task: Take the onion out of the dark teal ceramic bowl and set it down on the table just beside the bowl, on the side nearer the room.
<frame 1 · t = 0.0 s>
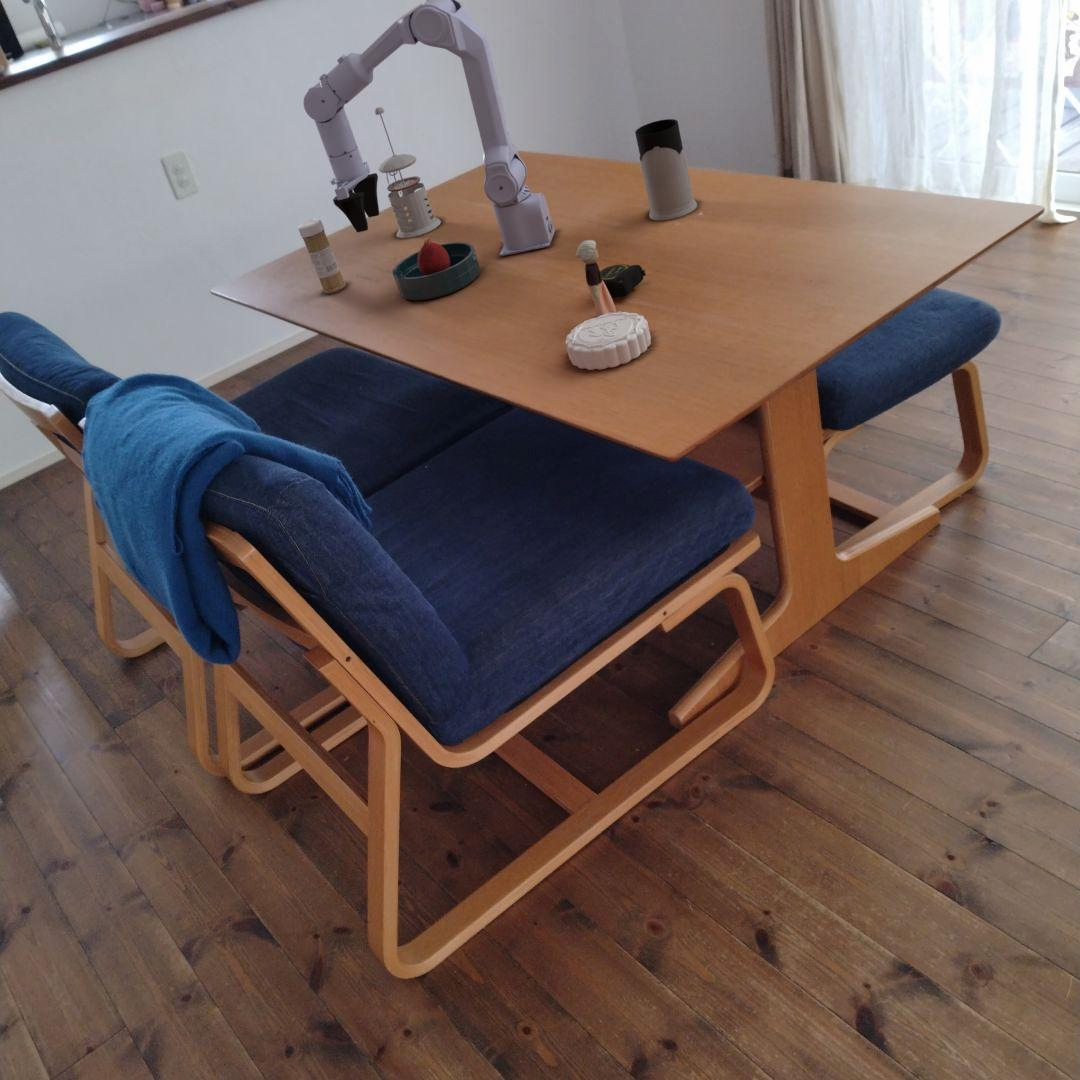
hand: (368, 223, 207), 10 cm above the table, tool pointing down, fingers open, 7 cm apart
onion: (440, 281, 200), resting on bowl
mooncake: (610, 351, 158), on the table
glass holder: (675, 205, 201), on the table
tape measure: (624, 293, 174), on the table
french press: (417, 228, 232), on the table
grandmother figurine: (605, 320, 168), on the table
bowl: (440, 283, 200), on the table
sprinkles bottle: (335, 290, 213), on the table
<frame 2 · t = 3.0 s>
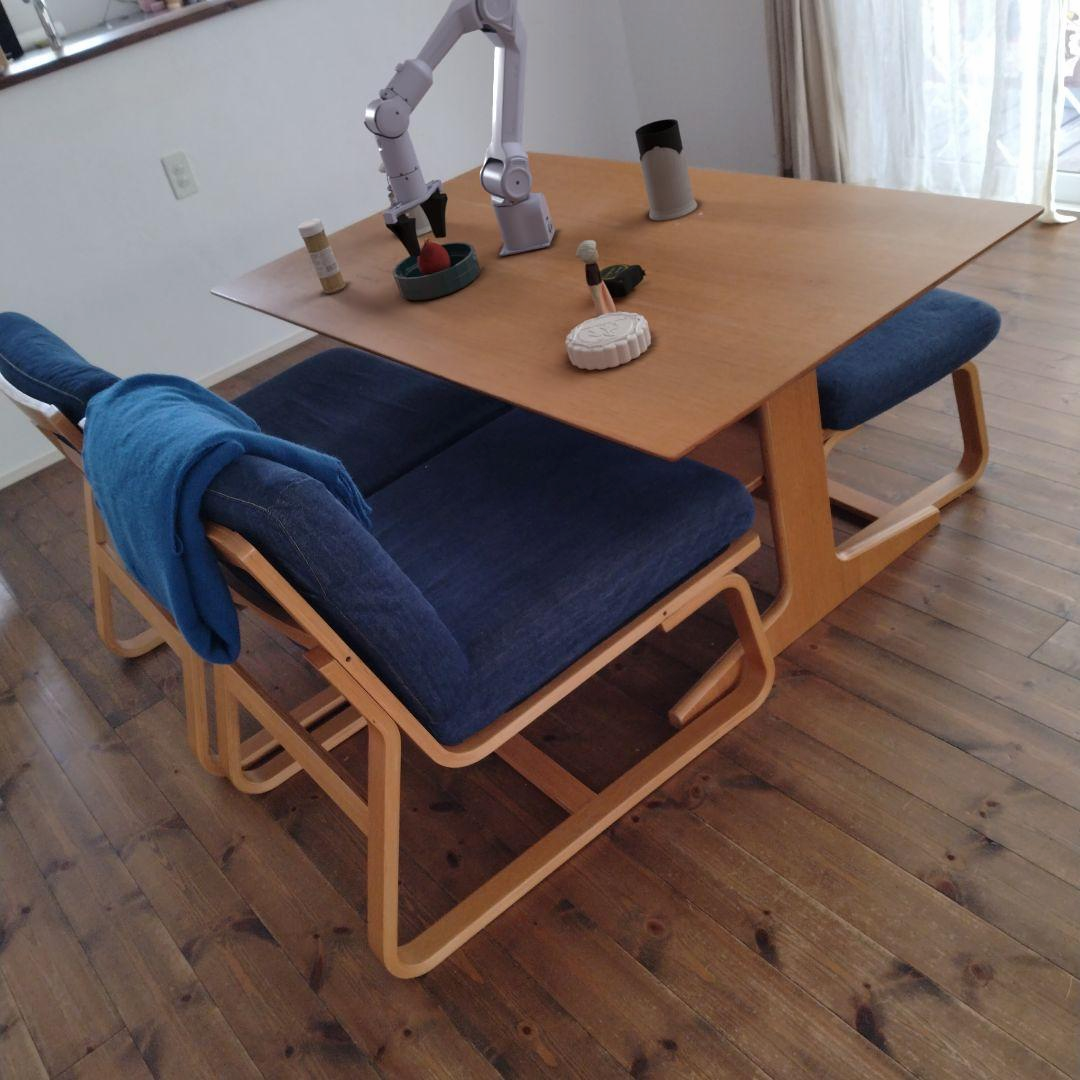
hand: (428, 246, 196), 7 cm above the table, tool pointing down, fingers open, 7 cm apart
nothing on the table moved.
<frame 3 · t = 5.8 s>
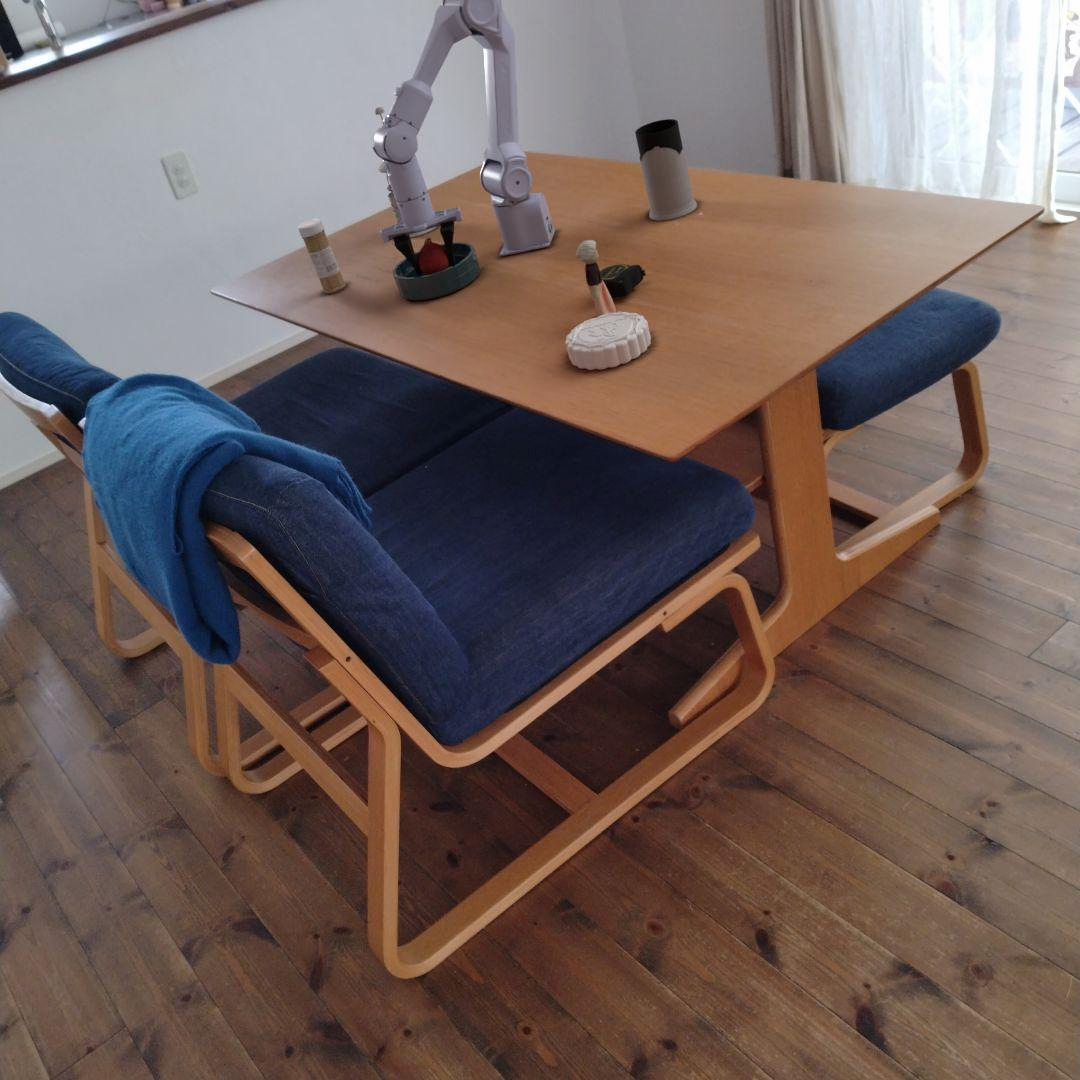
hand: (436, 268, 198), 3 cm above the table, tool pointing down, fingers closed on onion, 6 cm apart
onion: (440, 281, 200), resting on bowl, touching gripper
everything else where it was.
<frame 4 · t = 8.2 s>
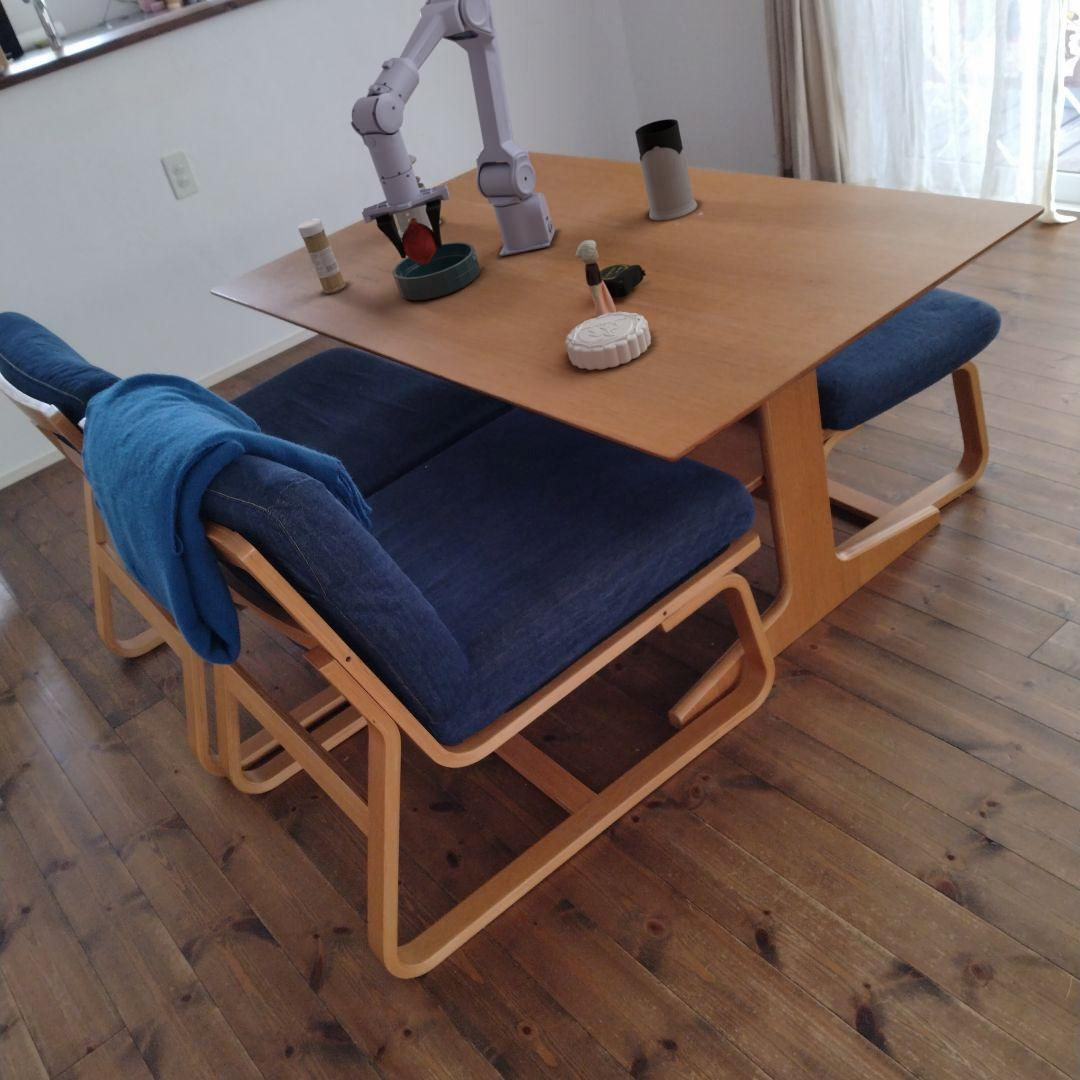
hand: (421, 251, 186), 10 cm above the table, tool pointing down, fingers closed on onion, 6 cm apart
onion: (426, 265, 187), point 7 cm above the table, touching gripper
everything else where it was.
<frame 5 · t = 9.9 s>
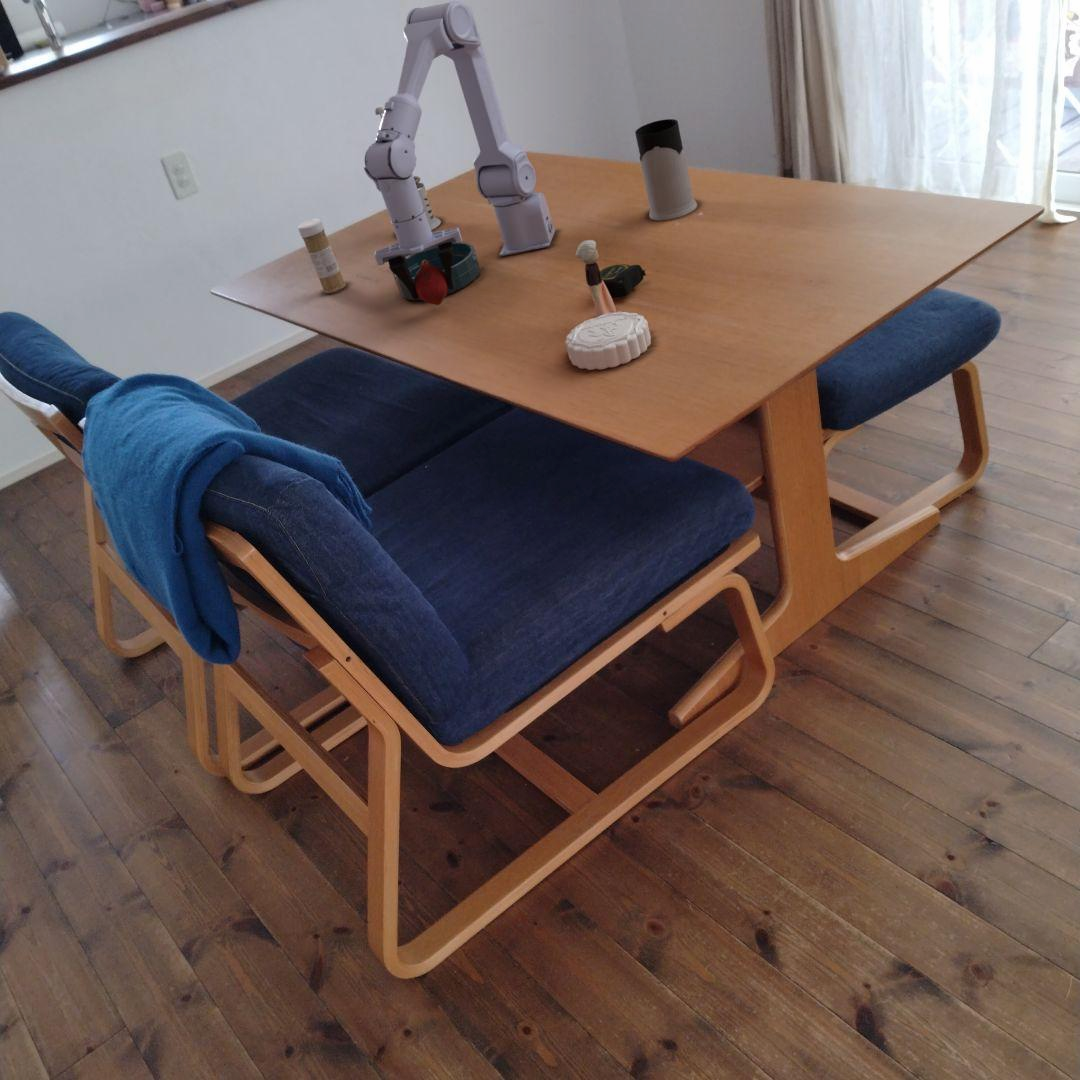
hand: (433, 292, 187), 3 cm above the table, tool pointing down, fingers closed on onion, 6 cm apart
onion: (438, 305, 188), point 1 cm above the table, touching gripper
everything else where it was.
when the fingers open (2 cm above the table, at t = 10.8 s): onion stays where it is, on the table.
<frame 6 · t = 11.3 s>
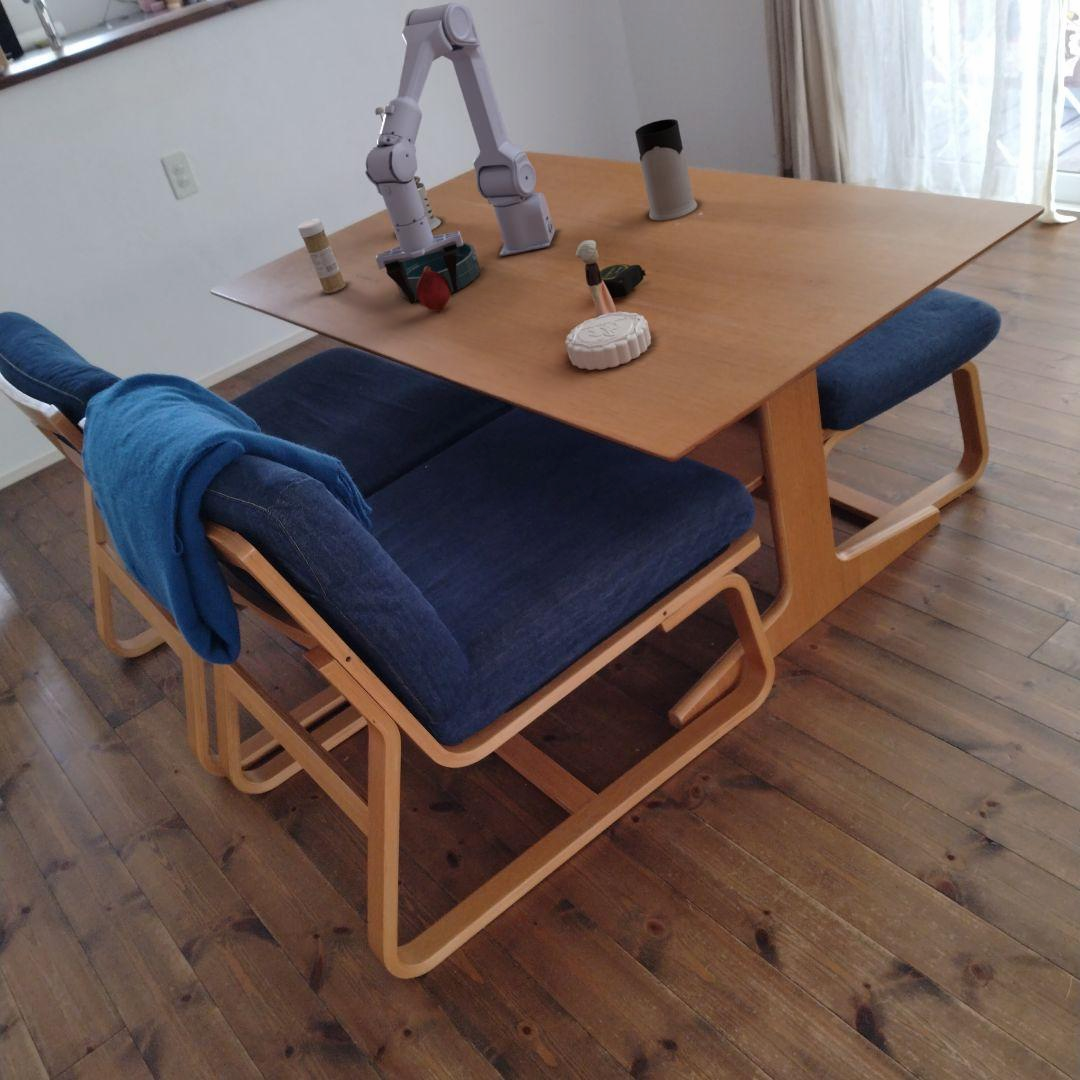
hand: (434, 295, 187), 3 cm above the table, tool pointing down, fingers open, 7 cm apart
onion: (440, 311, 189), on the table
everything else where it was.
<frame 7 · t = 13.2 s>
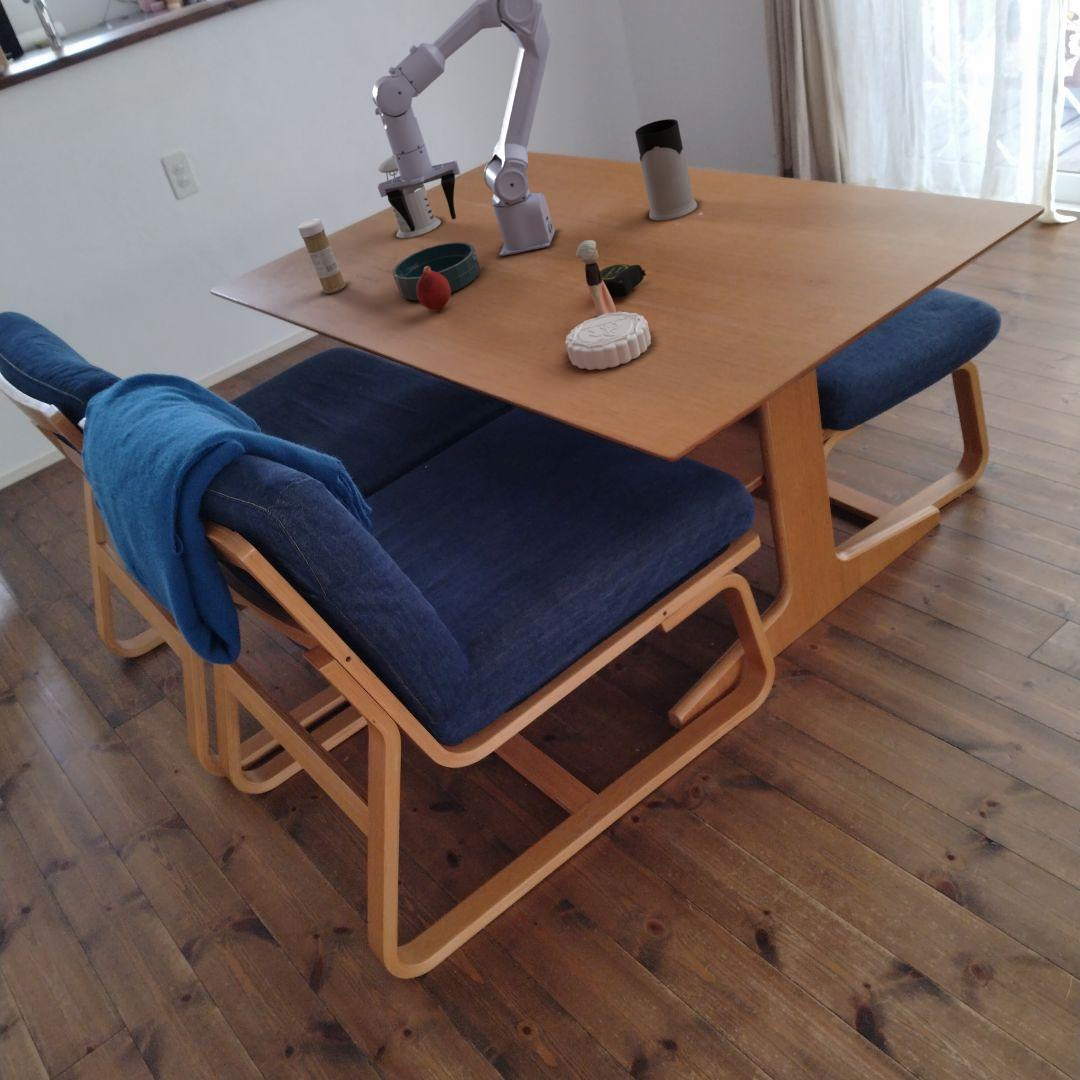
hand: (433, 223, 198), 9 cm above the table, tool pointing down, fingers open, 7 cm apart
nothing on the table moved.
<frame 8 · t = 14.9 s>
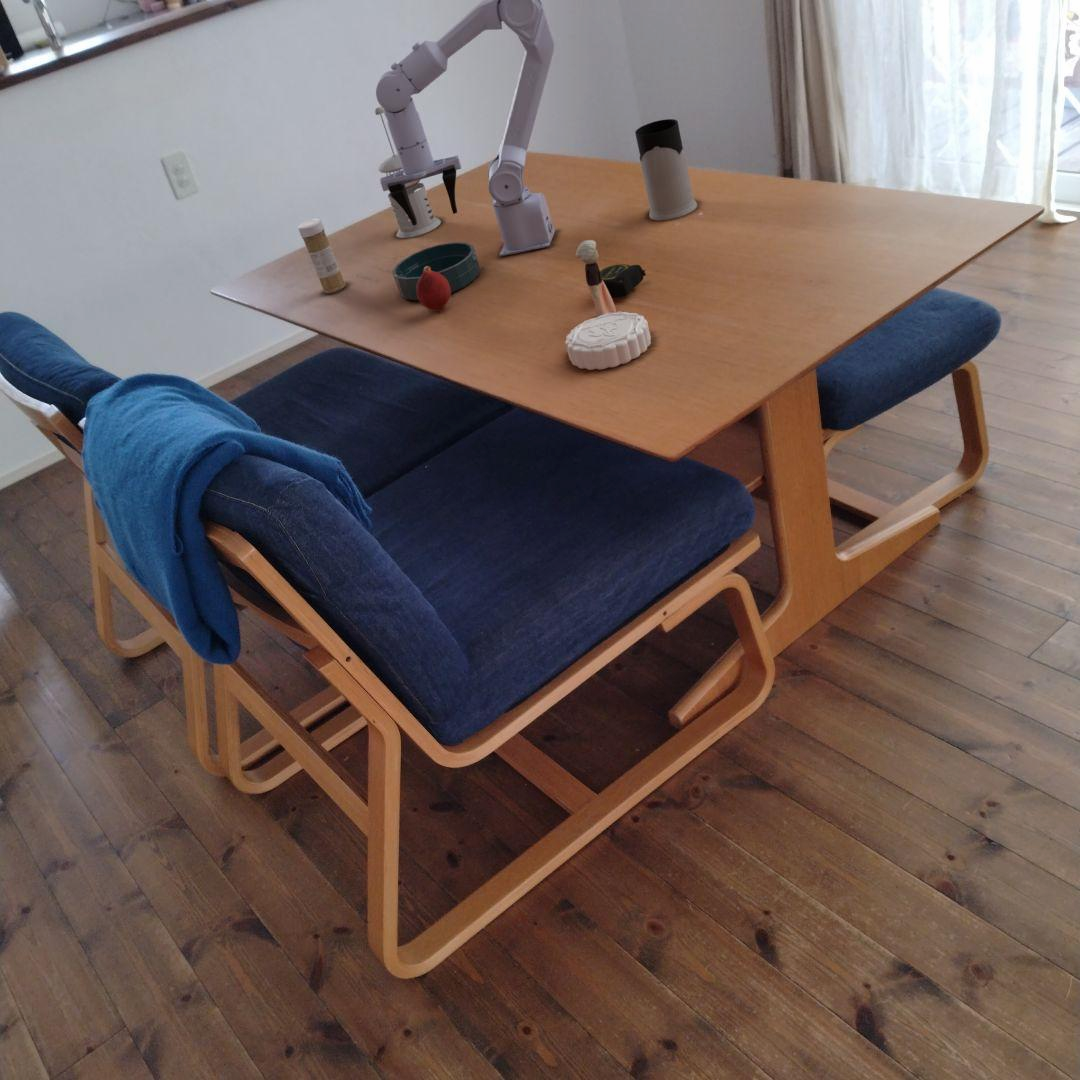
hand: (435, 217, 201), 9 cm above the table, tool pointing down, fingers open, 7 cm apart
nothing on the table moved.
at the end: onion inside the target area (0.0 cm from its centre), on the table; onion touching table; the gripper is holding nothing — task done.
